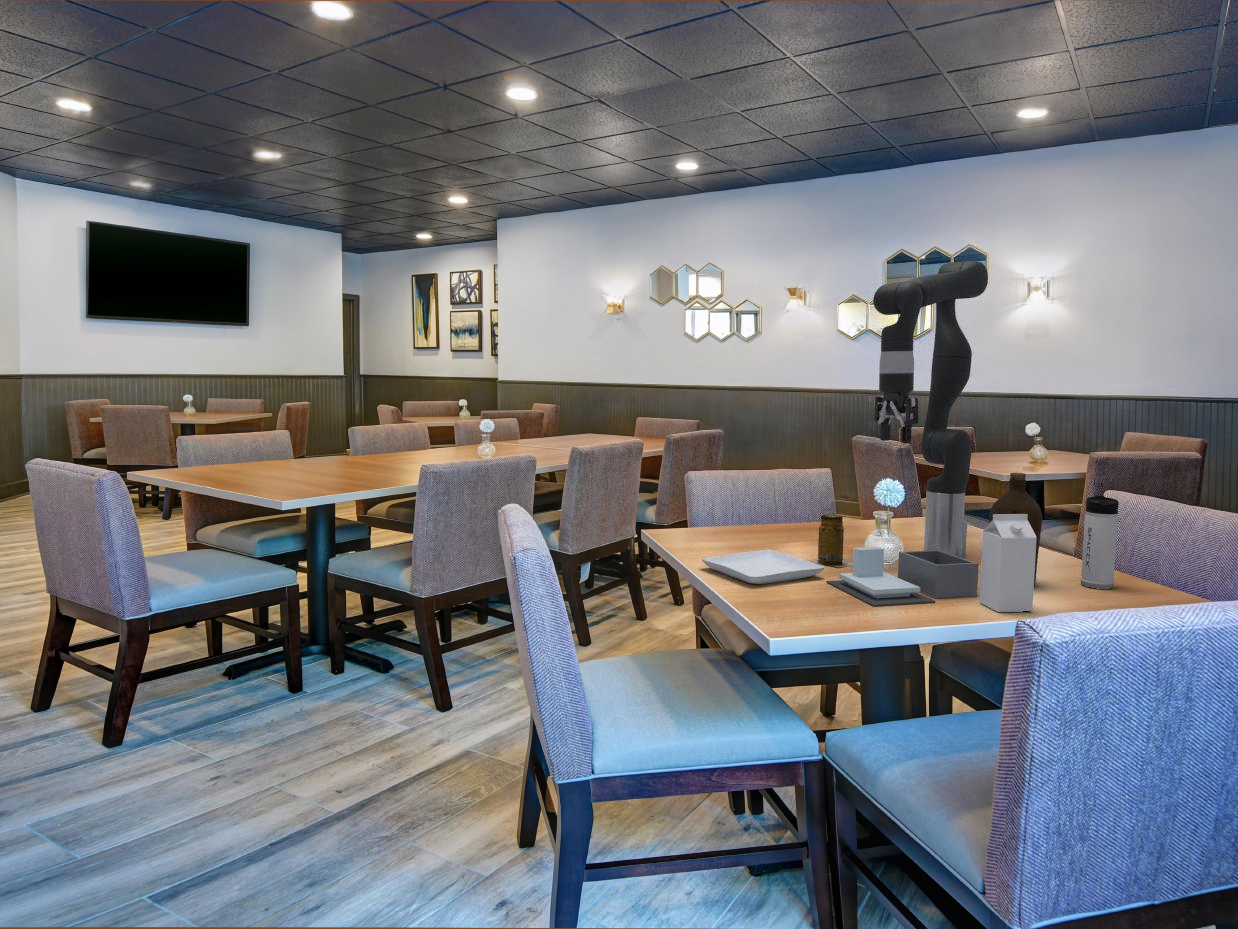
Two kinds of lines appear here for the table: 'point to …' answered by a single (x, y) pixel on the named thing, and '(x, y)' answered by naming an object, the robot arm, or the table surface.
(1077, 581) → the table surface
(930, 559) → the tub
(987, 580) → the milk carton
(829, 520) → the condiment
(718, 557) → the salad plate
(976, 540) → the table surface
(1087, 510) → the travel mug
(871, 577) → the lid
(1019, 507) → the olive oil
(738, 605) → the table surface
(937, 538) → the robot arm
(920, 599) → the mat
